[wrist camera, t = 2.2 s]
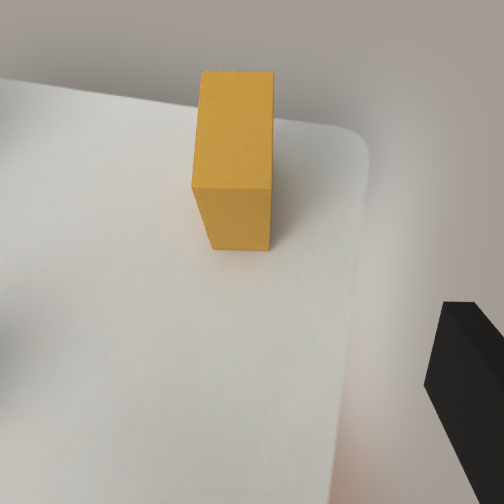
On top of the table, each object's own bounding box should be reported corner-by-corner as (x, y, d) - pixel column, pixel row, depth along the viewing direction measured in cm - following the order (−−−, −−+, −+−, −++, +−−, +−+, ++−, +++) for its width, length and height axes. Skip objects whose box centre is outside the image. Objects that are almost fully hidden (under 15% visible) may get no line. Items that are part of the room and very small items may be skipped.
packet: (271, 160, 34) (274, 70, 25) (269, 251, 32) (272, 188, 22) (218, 159, 34) (201, 70, 25) (212, 249, 32) (191, 187, 22)
